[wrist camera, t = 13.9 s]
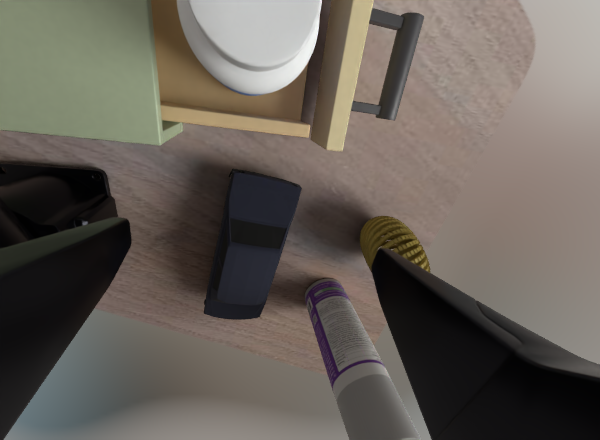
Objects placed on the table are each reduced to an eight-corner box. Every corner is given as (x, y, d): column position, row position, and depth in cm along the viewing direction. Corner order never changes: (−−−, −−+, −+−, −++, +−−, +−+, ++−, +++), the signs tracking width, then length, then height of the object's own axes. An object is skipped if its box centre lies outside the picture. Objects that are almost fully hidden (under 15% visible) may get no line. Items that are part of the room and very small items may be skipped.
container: (328, 312, 31) (394, 475, 18) (296, 303, 29) (343, 476, 16) (350, 284, 29) (438, 438, 16) (318, 273, 28) (388, 435, 14)
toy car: (298, 177, 22) (312, 197, 18) (259, 301, 28) (262, 340, 23) (231, 160, 20) (228, 178, 16) (204, 296, 26) (196, 338, 21)
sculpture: (395, 254, 29) (445, 306, 22) (363, 269, 29) (403, 325, 22) (382, 196, 25) (437, 236, 18) (345, 213, 25) (385, 259, 18)
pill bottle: (289, 97, 17) (336, 101, 9) (208, 94, 16) (172, 94, 8) (291, -5, 15) (358, -136, 6) (196, -17, 14) (122, -193, 5)
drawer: (411, -15, 17) (459, -46, 13) (370, 146, 21) (397, 157, 18) (110, -109, 12) (55, -193, 9) (139, 119, 17) (110, 126, 13)
